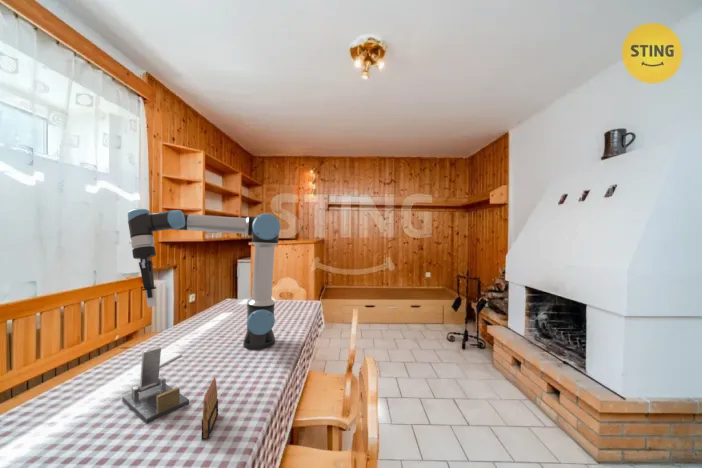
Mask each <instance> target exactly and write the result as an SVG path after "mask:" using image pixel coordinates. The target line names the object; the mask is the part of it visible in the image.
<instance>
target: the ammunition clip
mask: <svg viewBox="0 0 702 468" xmlns="http://www.w3.org/2000/svg"><path fill="white" fill-rule="evenodd" d="M217 388H218V387H217V379H216V378H215V377H213V379H212V380H211V383H210V384H209V387H208V389H206V392H205V394H204V398H203V408H202V419H201V440H209V439H210V437H211V435H212V432H213V429H214V427H215V424H216V421H217V419H218V417H219V398H218V389H217Z"/></svg>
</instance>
